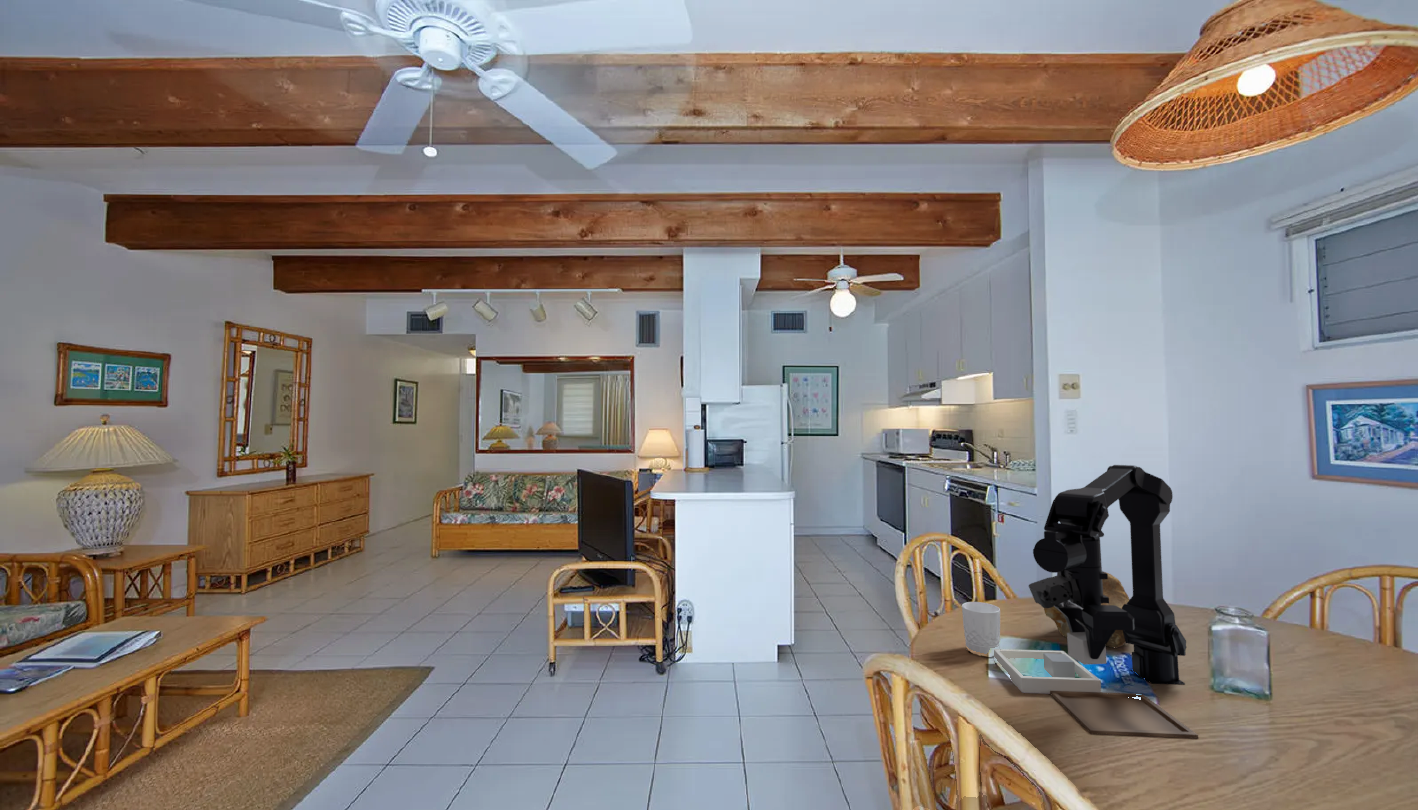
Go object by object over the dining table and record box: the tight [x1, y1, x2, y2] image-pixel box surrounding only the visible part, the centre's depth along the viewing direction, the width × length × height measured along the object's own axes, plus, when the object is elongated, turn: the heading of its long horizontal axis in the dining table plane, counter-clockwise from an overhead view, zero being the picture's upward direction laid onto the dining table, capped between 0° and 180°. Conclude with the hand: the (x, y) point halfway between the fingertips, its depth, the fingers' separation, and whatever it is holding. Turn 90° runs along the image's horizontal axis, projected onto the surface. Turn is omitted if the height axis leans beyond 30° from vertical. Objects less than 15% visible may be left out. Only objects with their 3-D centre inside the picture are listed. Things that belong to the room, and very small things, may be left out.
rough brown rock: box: [1043, 571, 1131, 649], centre depth 133 cm, size 23×17×15 cm
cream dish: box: [993, 648, 1102, 695], centre depth 112 cm, size 14×14×3 cm
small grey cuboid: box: [1066, 632, 1107, 666], centre depth 98 cm, size 4×4×4 cm
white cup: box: [961, 601, 1001, 654], centre depth 127 cm, size 8×8×10 cm
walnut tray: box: [1049, 691, 1199, 739], centre depth 97 cm, size 16×14×1 cm
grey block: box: [1043, 653, 1075, 678], centre depth 111 cm, size 4×4×4 cm
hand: (1086, 653), depth 98 cm, fingers closed on small grey cuboid, 4 cm apart
